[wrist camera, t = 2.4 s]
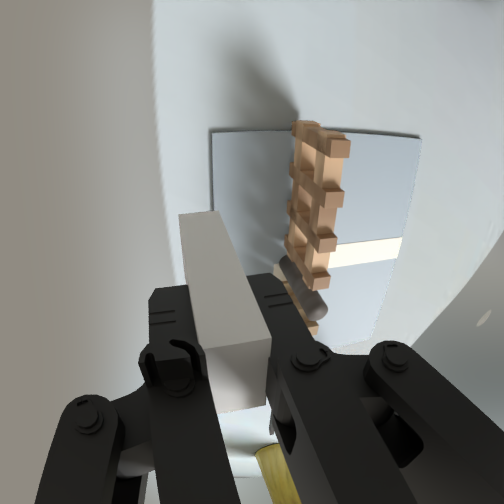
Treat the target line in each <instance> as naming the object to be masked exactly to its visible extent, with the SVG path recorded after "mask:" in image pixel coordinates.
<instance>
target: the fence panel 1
mask: <svg viewBox="0 0 504 504" xmlns="http://www.w3.org/2000/svg"><path fill="white" fill-rule="evenodd" d="M291 135H292V136H294V137H295V153H294V162H290V166H289V176H290V177H291V178H292V179H293V183H292V197H291V200H287V211H286V213H287V214H288V215H289V217H290V222H289V234H285V237H284V246H285V248H286V250H287V255H288V257H289V258H290V260H291V261H292V262H295V264H296V265H297V267H298V269H299V270H300V272H301V273H302V275H303V278H302V279H303V281H304V282H305V284H306V286H307V287H308V289H312V291H315V290H321V289H327V288H329V284H330V279H331V276H330V274H329V273H328V271H327V270H328V264H329V258H330V252H335V251H336V246H337V240H338V237H337V236H336V235H335V234H334V227H335V220H336V214H337V208H343V201H344V194H345V191H343V190H342V189H341V188H340V184H341V176H342V168H343V160H344V158H349V155H350V147H351V141H350V140H348V139H346V135H345V134H343V133H340V132H338V131H333V130H326V129H324V128H322V127H320V124H319V123H317V122H314V121H301V120H296V121H292V132H291Z"/></svg>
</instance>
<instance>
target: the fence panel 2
mask: <svg viewBox="0 0 504 504" xmlns="http://www.w3.org/2000/svg"><path fill="white" fill-rule="evenodd" d="M279 267H280V269H281V270H282V272H283V274H284V276H285V278H286V279H287V281H282V282H283V284H284V286H285V288H286V290H287V291H288V295H290V297H291V299H292V300H293V304H295V306H296V307H297V309H298V311H299V313H300V315H301V316H302V318H303V320H304V322H305V324H306V326H307V327H308V329H309V331H310V333H311V335H312V336H313V335H317V332H318V327H319V325H318V323H317V322H316V321H318V320H320V319H322V318H323V317H324V316H325V315H326V314H327V312H328V307H327V305H326V303H325V302H324V300H323V299H322V297H321V296H320V294H319V292H318V291H317V290H315V291H312V289H308V287H307V286H306V284H305V282H304V281H303V279H302V278H303V275H302V273H301V272H300V270H299V269H298V267H297V265H296V264H295V262H292V261H291V260H290V258H289V257H288V255H285V256H283V257H282V258H281V259H280V261H279Z"/></svg>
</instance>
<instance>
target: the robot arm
mask: <svg viewBox="0 0 504 504" xmlns="http://www.w3.org/2000/svg"><path fill="white" fill-rule="evenodd" d="M179 225H180V235H181V245H182V255H183V264H184V272H185V280H186V285H180V286H172V287H164V288H156V289H155V290H154V292H153V293H152V295H151V297H150V299H149V300H148V304H149V344H147V345H146V347H145V348H144V349H143V350H142V352H141V353H140V357H139V361H138V364H139V367H140V370H141V373H142V375H143V377H144V380H145V383H144V384H143V385H142V386H141V387H140V388H139V389H137V390H136V391H134V392H133V393H131V394H129V395H126V396H124V397H121V398H119V399H116V400H113V401H111V402H110V401H109V400H108V399H107V398H104V397H102V396H99V395H83V396H81V397H78V398H75V399H74V400H73V401H72V402H70V403H69V404H68V405H67V406H66V408H65V409H64V411H63V413H62V415H61V417H60V420H59V423H58V426H57V429H56V432H55V435H54V438H53V441H52V444H51V447H50V450H49V453H48V457H47V460H46V464H45V467H44V470H43V474H42V477H41V481H40V484H39V488H38V492H37V496H36V500H35V504H144V500H145V493H146V486H147V479H148V472H151V471H153V470H155V473H156V480H157V487H158V493H159V499H160V504H241V502H240V499H239V495H238V492H237V488H236V485H235V481H234V478H233V474H232V471H231V467H230V463H229V460H228V456H227V452H226V448H225V445H224V441H223V437H222V433H221V429H220V425H219V421H218V417H217V414H221V413H227V412H233V411H238V410H244V409H249V408H254V407H258V406H263V405H266V396H267V398H268V401H269V404H270V406H271V409H272V410H271V418H270V425H269V432H270V435H273V434H274V431H275V434H276V436H277V439H278V442H279V445H280V447H281V450H282V453H283V455H284V458H285V461H286V464H287V466H288V469H289V472H290V474H291V477H292V480H293V482H294V485H295V487H296V490H297V493H298V495H299V498H300V500H301V503H302V504H504V432H503V431H502V430H501V429H500V428H499V427H498V426H497V425H496V424H495V423H494V422H493V421H492V420H491V419H490V418H489V417H488V416H486V415H485V414H484V413H483V412H482V411H481V410H480V409H479V408H478V407H477V406H475V405H474V404H473V403H472V402H471V401H470V400H469V399H468V398H467V397H466V396H465V395H464V394H462V393H461V392H460V391H459V390H458V389H457V388H456V387H455V386H454V385H452V384H451V383H450V382H449V381H448V380H447V379H446V378H445V377H444V376H442V375H441V374H440V373H439V372H438V371H437V370H436V369H435V368H433V367H432V366H431V365H430V364H429V363H428V362H427V361H426V360H424V359H423V358H422V357H421V356H420V355H419V354H418V353H416V352H415V351H414V350H413V349H412V348H410V347H409V346H407V345H406V344H404V343H401V342H397V341H383V342H380V343H377V344H376V345H375V346H374V347H373V348H372V349H371V351H370V354H369V355H343V354H337V353H333V352H332V351H331V350H330V348H329V347H328V346H326V345H324V344H323V343H321V342H319V341H315V339H314V338H313V336H312V335H311V333H310V331H309V329H308V327H307V326H306V324H305V322H304V320H303V318H302V316H301V315H300V313H299V311H298V309H297V307H296V306H295V304H293V300H292V299H291V297H290V295H288V291H287V290H286V288H285V286H284V284H283V282H282V281H281V280H280V279H278V278H277V277H275V276H274V275H273V274H271V273H263V274H255V275H248V276H246V275H245V273H244V271H243V268H242V266H241V263H240V261H239V259H238V256H237V254H236V251H235V249H234V247H233V244H232V242H231V239H230V237H229V234H228V232H227V230H226V227H225V225H224V222H223V220H222V218H221V215H220V213H219V210H217V211H207V212H198V213H188V214H179Z"/></svg>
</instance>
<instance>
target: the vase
mask: <svg viewBox="0 0 504 504" xmlns="http://www.w3.org/2000/svg"><path fill="white" fill-rule="evenodd" d="M255 457H256V459H257V461H258V464H259V466H260V469H261V472H262V475H263V478H264V480H265V483H266V485H267V488H268V491H269V493H270V496H271V499H272V502H273V504H302V503H301V500H300V498H299V495H298V493H297V490H296V487H295V485H294V482H293V480H292V477H291V474H290V472H289V469H288V466H287V464H286V461H285V458H284V455H283V453H282V450H281V447H280V445H279V444H273V445H269V446H266V447H264V448H262V449H260V450H258V451H257V452H256V454H255Z"/></svg>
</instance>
